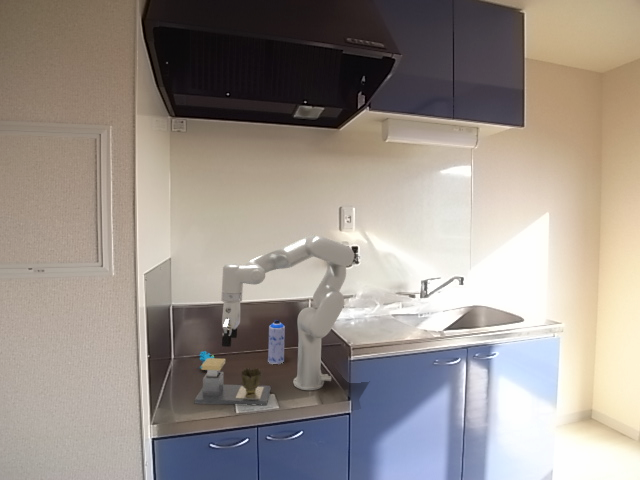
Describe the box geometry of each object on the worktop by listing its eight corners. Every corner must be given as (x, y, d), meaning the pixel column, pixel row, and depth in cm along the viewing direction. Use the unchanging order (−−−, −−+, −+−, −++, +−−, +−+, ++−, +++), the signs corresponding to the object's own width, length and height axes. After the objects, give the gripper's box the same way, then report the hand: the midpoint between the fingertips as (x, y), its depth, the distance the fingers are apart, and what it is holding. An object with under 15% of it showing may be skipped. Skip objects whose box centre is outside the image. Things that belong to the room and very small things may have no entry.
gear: (212, 370, 150) (198, 352, 152) (202, 380, 150) (188, 362, 152) (222, 364, 161) (208, 347, 163) (212, 372, 161) (199, 355, 163)
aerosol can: (287, 359, 169) (288, 319, 168) (279, 365, 162) (280, 323, 161) (273, 356, 172) (274, 316, 171) (264, 362, 165) (265, 320, 164)
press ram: (225, 378, 136) (225, 358, 135) (220, 387, 129) (220, 366, 128) (206, 378, 136) (207, 358, 135) (201, 386, 129) (201, 365, 128)
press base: (270, 389, 139) (271, 369, 138) (266, 405, 127) (266, 383, 126) (204, 387, 139) (205, 367, 138) (194, 403, 127) (194, 381, 126)
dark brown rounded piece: (262, 387, 137) (262, 367, 136) (259, 397, 129) (259, 376, 129) (242, 387, 136) (243, 367, 136) (238, 396, 129) (239, 375, 129)
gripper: (237, 302, 122) (234, 350, 123) (246, 292, 139) (243, 335, 140) (215, 301, 122) (213, 349, 123) (227, 291, 139) (225, 334, 140)
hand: (229, 341), depth 131 cm, fingers open, 9 cm apart
